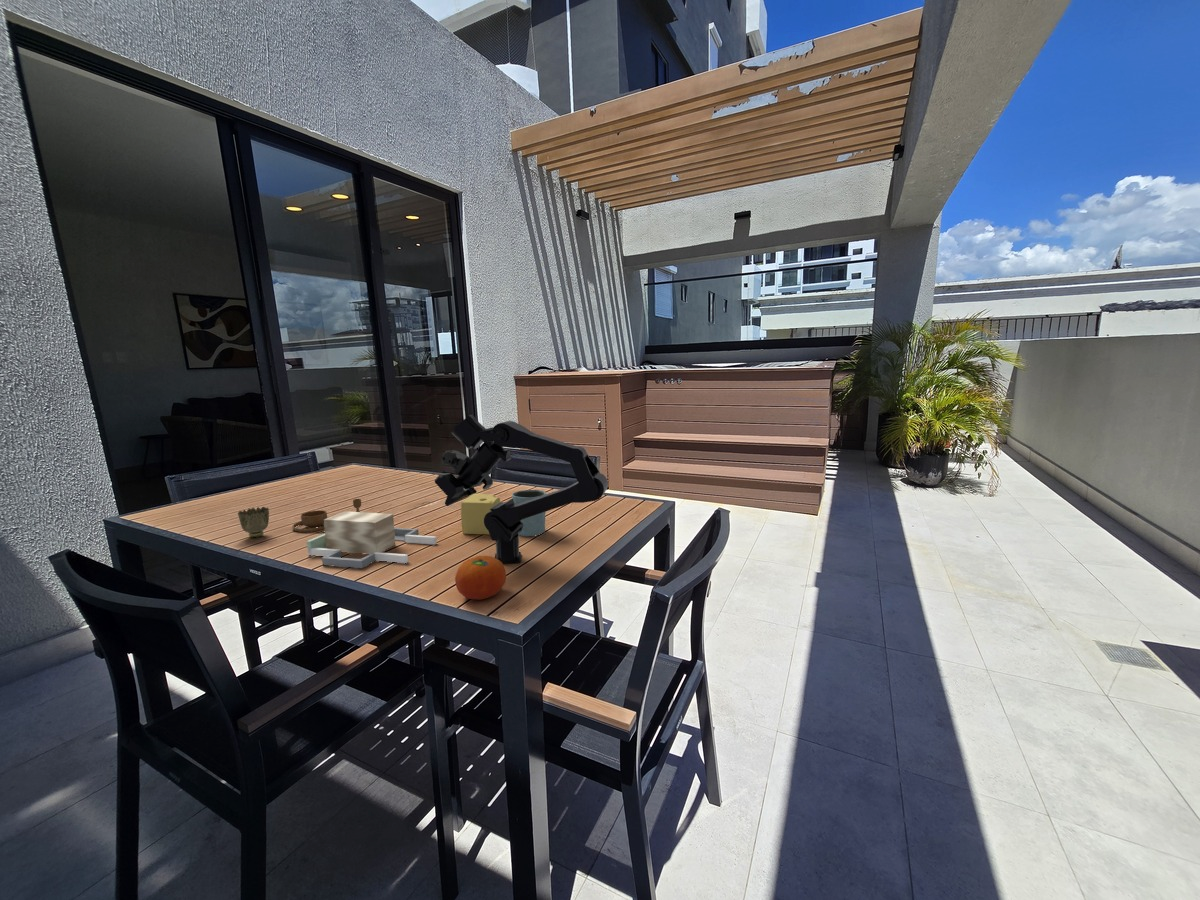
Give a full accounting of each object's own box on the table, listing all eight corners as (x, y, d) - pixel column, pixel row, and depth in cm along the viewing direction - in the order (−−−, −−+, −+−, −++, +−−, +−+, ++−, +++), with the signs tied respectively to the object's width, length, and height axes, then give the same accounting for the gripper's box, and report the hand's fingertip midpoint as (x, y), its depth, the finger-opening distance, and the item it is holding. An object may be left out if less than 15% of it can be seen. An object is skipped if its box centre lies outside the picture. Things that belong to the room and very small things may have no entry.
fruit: (467, 583, 110) (466, 549, 109) (512, 585, 109) (511, 551, 108) (448, 605, 100) (446, 568, 98) (497, 608, 98) (495, 570, 97)
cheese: (505, 524, 154) (504, 493, 152) (494, 536, 143) (493, 502, 141) (473, 523, 155) (471, 493, 153) (460, 534, 144) (458, 501, 142)
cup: (239, 536, 143) (236, 509, 142) (269, 530, 148) (266, 505, 146) (242, 542, 137) (239, 515, 136) (273, 536, 142) (270, 510, 141)
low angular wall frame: (445, 537, 141) (444, 524, 141) (393, 571, 117) (392, 555, 116) (359, 531, 146) (358, 519, 146) (292, 563, 122) (291, 547, 122)
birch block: (395, 545, 135) (393, 514, 134) (377, 555, 128) (374, 522, 126) (347, 542, 138) (344, 511, 137) (326, 552, 130) (323, 519, 129)
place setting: (293, 524, 157) (291, 506, 156) (362, 514, 167) (361, 497, 166) (292, 539, 142) (290, 519, 141) (367, 528, 152) (366, 509, 151)
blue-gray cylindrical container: (532, 539, 139) (531, 499, 137) (505, 534, 144) (504, 494, 143) (553, 530, 148) (553, 491, 146) (527, 525, 153) (527, 487, 151)
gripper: (480, 438, 132) (447, 478, 136) (439, 440, 114) (402, 487, 118) (508, 466, 130) (473, 507, 134) (470, 474, 112) (432, 520, 116)
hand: (446, 504), depth 126 cm, fingers closed
